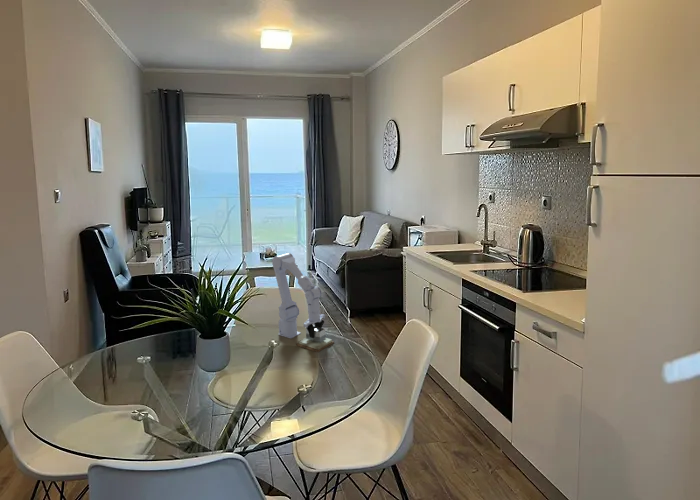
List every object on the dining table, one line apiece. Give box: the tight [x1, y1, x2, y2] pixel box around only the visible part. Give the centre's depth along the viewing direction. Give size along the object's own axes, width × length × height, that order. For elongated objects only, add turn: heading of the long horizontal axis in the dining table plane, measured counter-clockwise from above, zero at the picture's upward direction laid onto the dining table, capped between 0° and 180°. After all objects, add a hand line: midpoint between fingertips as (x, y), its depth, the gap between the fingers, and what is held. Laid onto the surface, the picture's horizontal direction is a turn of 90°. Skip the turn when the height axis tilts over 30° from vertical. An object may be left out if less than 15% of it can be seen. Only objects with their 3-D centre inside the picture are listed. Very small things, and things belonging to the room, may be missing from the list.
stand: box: [296, 337, 335, 353], centre depth 262 cm, size 14×13×2 cm
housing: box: [305, 324, 327, 343], centre depth 261 cm, size 4×9×6 cm, turn 54°
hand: (315, 335), depth 261 cm, fingers closed on housing, 4 cm apart
